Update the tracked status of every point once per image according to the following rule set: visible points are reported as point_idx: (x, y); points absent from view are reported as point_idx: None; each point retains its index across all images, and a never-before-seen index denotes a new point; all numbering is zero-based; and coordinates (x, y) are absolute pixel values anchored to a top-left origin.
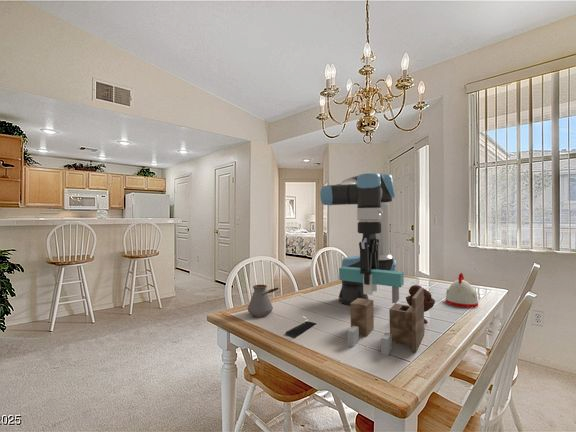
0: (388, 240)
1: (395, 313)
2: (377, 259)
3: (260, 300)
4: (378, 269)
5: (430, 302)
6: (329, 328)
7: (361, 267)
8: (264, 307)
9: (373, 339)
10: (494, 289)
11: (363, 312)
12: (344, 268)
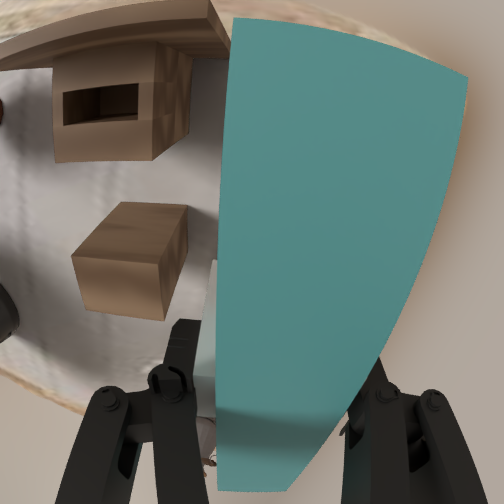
0: None
1: (156, 129)
2: (105, 479)
3: (205, 448)
4: (170, 381)
5: None
6: (174, 310)
7: (429, 453)
8: (204, 432)
9: (176, 187)
10: None
11: (166, 258)
12: (283, 485)
